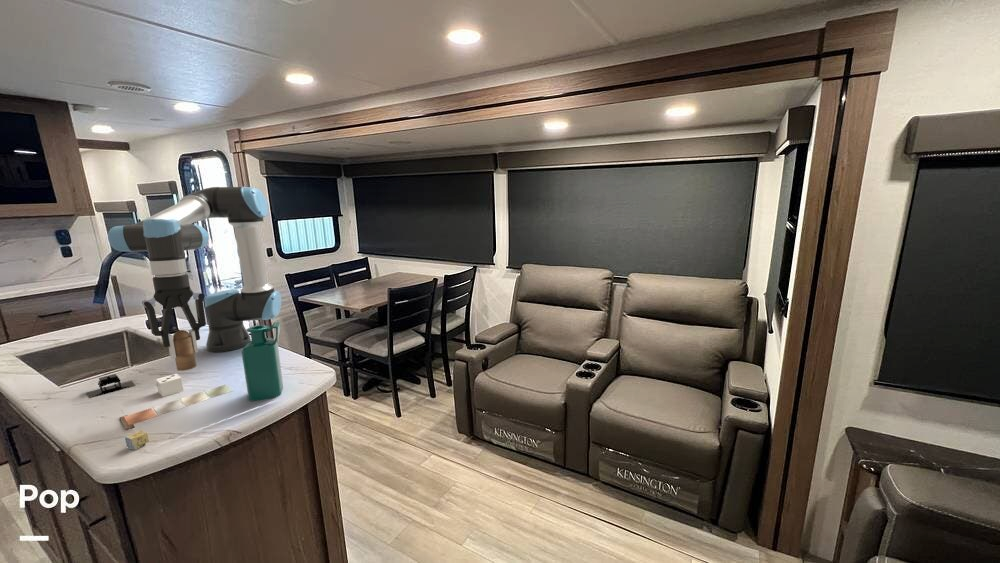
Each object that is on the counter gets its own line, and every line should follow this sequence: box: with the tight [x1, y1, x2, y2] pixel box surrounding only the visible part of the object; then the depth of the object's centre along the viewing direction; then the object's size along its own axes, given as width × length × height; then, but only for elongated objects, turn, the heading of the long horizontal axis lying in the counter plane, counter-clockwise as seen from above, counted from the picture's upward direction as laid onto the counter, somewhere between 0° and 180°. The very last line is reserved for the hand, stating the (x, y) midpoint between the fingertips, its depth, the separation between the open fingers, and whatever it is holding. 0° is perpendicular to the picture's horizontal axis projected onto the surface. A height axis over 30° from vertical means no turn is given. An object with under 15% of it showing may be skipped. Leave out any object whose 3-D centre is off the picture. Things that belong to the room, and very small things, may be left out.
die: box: [155, 373, 184, 398], centre depth 117 cm, size 5×5×5 cm
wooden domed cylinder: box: [172, 329, 197, 372], centre depth 109 cm, size 4×4×11 cm
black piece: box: [86, 373, 136, 399], centre depth 120 cm, size 13×8×5 cm, turn 143°
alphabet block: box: [124, 430, 150, 451], centre depth 91 cm, size 3×3×3 cm
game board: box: [119, 384, 234, 431], centre depth 110 cm, size 25×9×1 cm, turn 142°
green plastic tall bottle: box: [241, 321, 284, 402], centre depth 113 cm, size 10×8×22 cm
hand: (184, 353), depth 109 cm, fingers closed on wooden domed cylinder, 4 cm apart
